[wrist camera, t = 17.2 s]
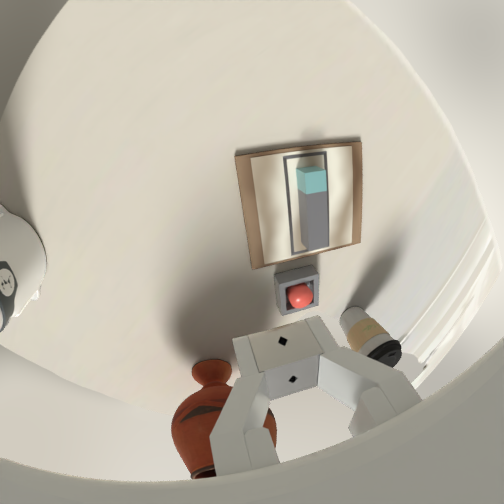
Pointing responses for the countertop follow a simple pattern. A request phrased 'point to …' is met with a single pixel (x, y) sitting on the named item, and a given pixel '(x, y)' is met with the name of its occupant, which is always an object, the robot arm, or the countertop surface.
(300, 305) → the button
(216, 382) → the goblet
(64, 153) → the countertop surface
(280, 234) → the drawing board
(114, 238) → the countertop surface
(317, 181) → the block
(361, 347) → the coffee cup
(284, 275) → the button housing
